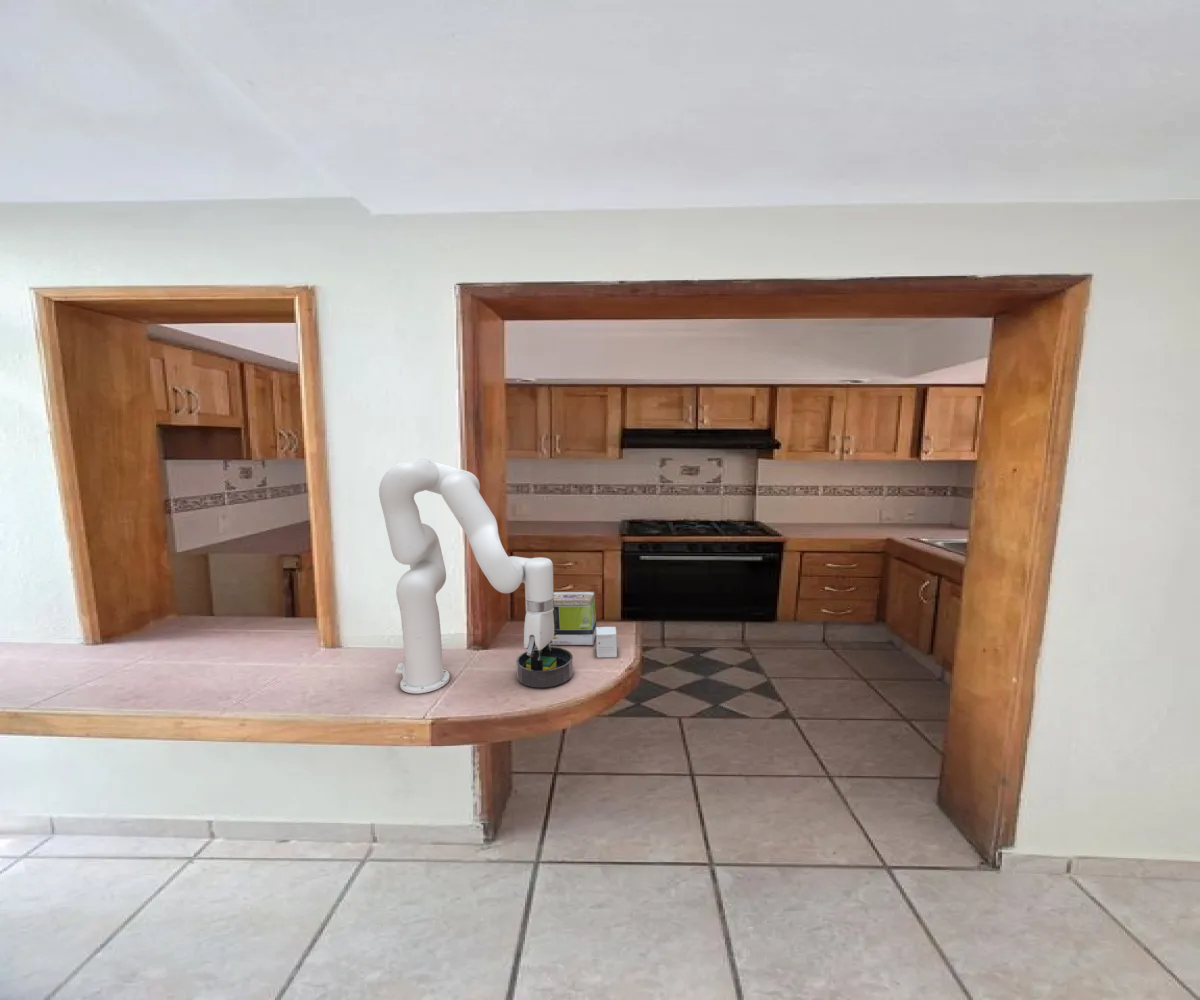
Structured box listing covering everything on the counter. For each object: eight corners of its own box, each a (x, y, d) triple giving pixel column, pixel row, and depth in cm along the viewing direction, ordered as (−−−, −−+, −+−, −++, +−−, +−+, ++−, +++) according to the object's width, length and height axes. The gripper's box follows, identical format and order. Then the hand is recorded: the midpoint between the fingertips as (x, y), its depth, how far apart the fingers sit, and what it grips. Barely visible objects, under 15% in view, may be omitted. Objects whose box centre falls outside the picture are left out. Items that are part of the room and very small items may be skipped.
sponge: (526, 672, 134) (525, 661, 133) (533, 664, 138) (533, 654, 138) (549, 675, 132) (549, 664, 131) (556, 668, 136) (556, 657, 135)
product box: (596, 658, 146) (595, 634, 146) (596, 649, 152) (595, 626, 152) (617, 657, 146) (616, 633, 146) (616, 648, 152) (615, 625, 152)
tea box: (596, 634, 165) (595, 590, 163) (593, 646, 155) (591, 600, 153) (552, 633, 166) (550, 590, 165) (545, 645, 156) (543, 600, 155)
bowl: (507, 685, 131) (506, 667, 131) (532, 660, 146) (531, 644, 145) (560, 692, 127) (559, 674, 126) (580, 666, 141) (580, 650, 140)
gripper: (540, 593, 142) (541, 655, 144) (512, 613, 126) (514, 681, 128) (564, 596, 139) (565, 658, 142) (539, 616, 123) (540, 686, 126)
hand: (541, 668), depth 135 cm, fingers closed on sponge, 4 cm apart
